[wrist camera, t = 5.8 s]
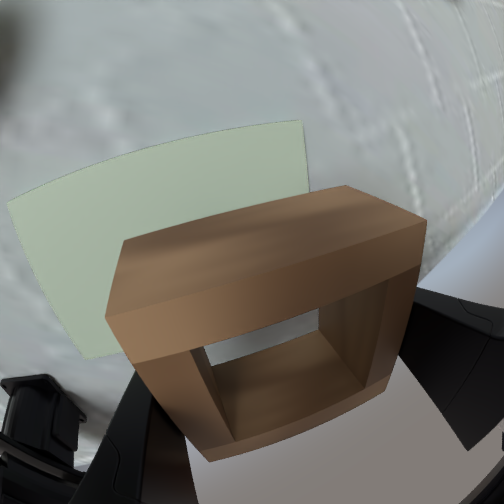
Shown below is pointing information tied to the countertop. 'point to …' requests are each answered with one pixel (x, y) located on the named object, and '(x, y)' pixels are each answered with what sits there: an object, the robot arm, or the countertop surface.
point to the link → (268, 313)
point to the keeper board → (144, 211)
